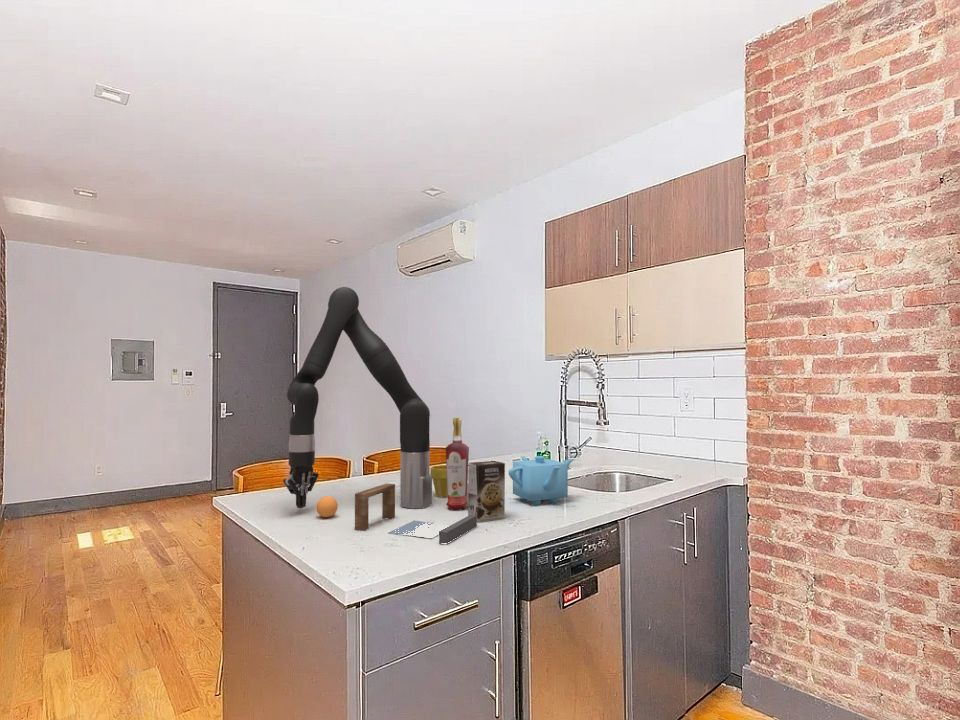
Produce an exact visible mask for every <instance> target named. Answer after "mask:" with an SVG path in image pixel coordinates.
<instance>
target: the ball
mask: <svg viewBox="0 0 960 720" xmlns="http://www.w3.org/2000/svg"><path fill="white" fill-rule="evenodd" d="M338 506H339V504H338V501H337V500H336V499H335V498H334V497H333V496H329V495H328V496H323V497H321V498H320V499H319V500H318V501H317V502H316V512H317V514H318V515H319V516H320V517H323V518H331V517H333V516H334V515H335V514H336V512H337V511H338Z"/></svg>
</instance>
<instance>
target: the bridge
mask: <svg viewBox="0 0 960 720" xmlns="http://www.w3.org/2000/svg"><path fill="white" fill-rule="evenodd" d="M380 494H381V495H382V497H381V498H382V501H381V503H382V505H381V508H382V512H381V513H382V515H381V517H382V519H384V518H388V519H387V520H393V519H395V518H396V510H395V509H396V483H384V484H380V485H377V486H373V487H370V488H369V489H365V490H362V491H359V492H355V493H354V530H355V531H359V530H360V531H361V532H365V531H368V530H369V512H370V511H369V504H370V503H369V501H370V500H369V498H371V497H374V496H378V495H380ZM394 517H395V518H394ZM392 518H393V519H392ZM367 529H368V530H367Z"/></svg>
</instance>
